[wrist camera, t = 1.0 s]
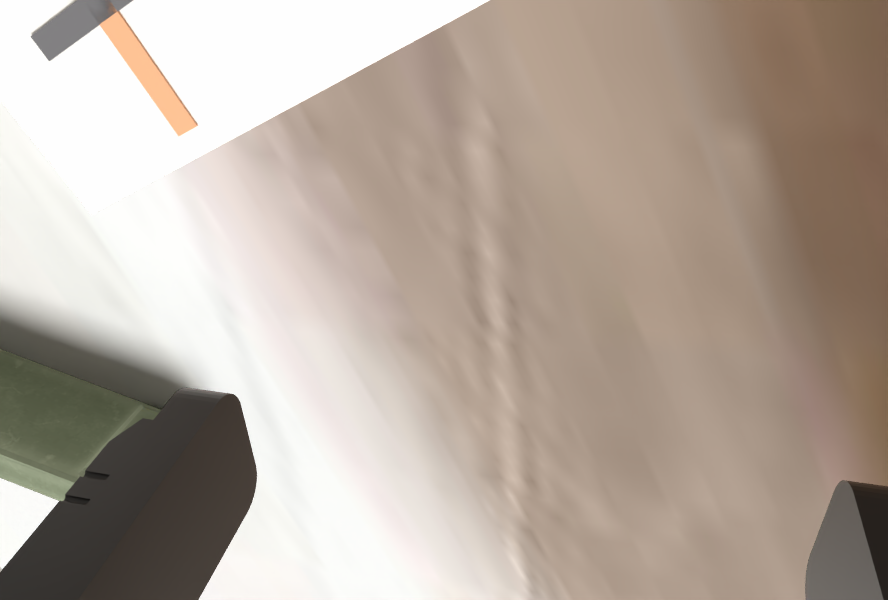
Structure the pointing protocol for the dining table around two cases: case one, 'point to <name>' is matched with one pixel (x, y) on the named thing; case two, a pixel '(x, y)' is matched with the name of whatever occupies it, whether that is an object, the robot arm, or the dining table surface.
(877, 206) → the dining table surface
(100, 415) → the handheld radio
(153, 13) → the console
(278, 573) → the dining table surface
